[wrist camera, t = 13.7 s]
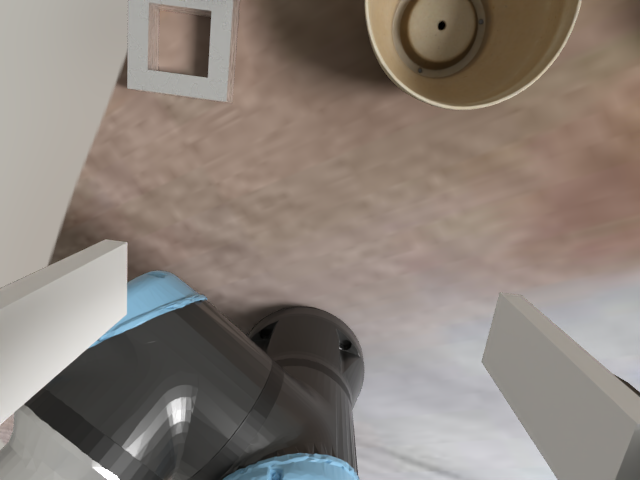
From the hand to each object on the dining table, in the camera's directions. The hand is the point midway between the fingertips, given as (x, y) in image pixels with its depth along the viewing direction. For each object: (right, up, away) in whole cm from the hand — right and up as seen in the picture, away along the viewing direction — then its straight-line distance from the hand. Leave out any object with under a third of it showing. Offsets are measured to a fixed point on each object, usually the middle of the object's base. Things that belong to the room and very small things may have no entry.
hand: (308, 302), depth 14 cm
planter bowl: (+12, +23, +27) cm, 37 cm away
